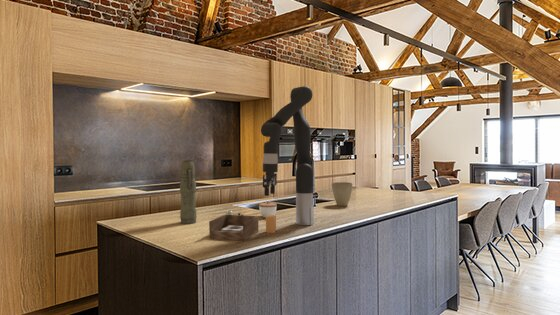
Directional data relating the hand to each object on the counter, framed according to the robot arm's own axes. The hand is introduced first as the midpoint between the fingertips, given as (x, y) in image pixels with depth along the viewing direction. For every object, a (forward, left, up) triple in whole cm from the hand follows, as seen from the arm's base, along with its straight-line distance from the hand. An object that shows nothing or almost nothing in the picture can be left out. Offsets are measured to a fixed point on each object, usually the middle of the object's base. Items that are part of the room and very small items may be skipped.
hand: (269, 194), depth 190 cm
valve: (+25, -12, -19) cm, 34 cm away
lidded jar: (+13, -36, -19) cm, 43 cm away
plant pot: (-25, -90, -19) cm, 96 cm away
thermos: (+51, -8, -19) cm, 55 cm away
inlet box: (+14, +12, -19) cm, 26 cm away
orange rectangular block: (-1, +1, -19) cm, 19 cm away
